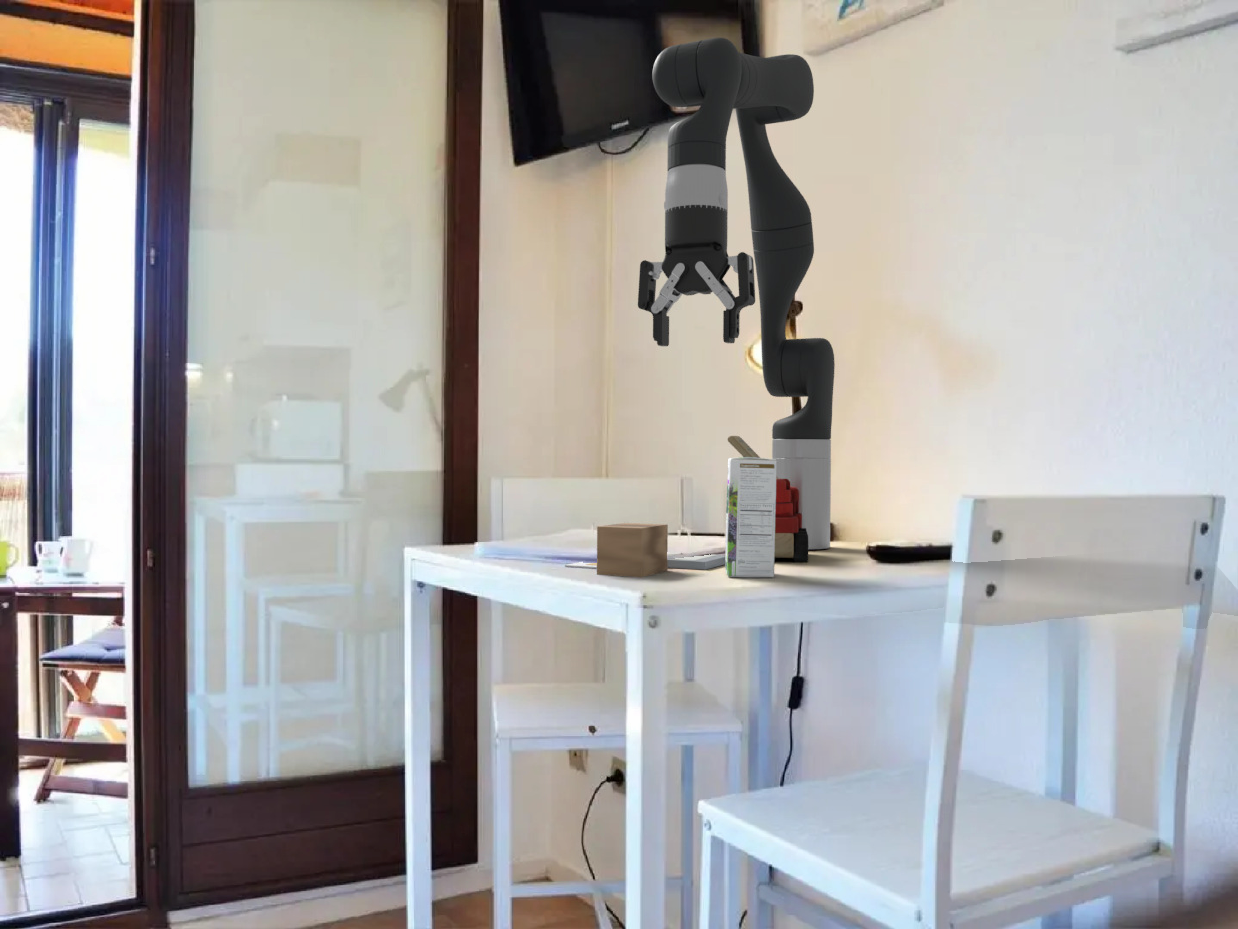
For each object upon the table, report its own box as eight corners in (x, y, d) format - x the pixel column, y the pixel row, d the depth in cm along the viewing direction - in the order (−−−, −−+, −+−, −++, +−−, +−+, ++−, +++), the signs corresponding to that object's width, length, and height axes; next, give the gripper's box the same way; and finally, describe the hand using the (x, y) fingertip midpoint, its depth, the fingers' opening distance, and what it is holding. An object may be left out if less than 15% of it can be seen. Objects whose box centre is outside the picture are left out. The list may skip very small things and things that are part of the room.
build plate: (664, 559, 147) (664, 551, 147) (731, 562, 143) (731, 555, 143) (634, 565, 138) (634, 557, 138) (705, 569, 134) (705, 561, 134)
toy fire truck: (806, 554, 158) (807, 437, 158) (808, 564, 143) (809, 435, 143) (731, 552, 160) (732, 436, 160) (724, 562, 145) (725, 435, 144)
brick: (624, 569, 136) (625, 523, 136) (667, 571, 133) (667, 524, 133) (596, 575, 129) (597, 526, 128) (641, 578, 126) (641, 528, 126)
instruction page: (596, 560, 145) (596, 558, 145) (642, 563, 142) (642, 561, 142) (564, 566, 137) (564, 564, 137) (612, 569, 134) (612, 567, 134)
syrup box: (724, 572, 131) (725, 457, 131) (771, 573, 131) (772, 457, 131) (727, 577, 126) (728, 457, 125) (776, 578, 125) (777, 457, 125)
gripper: (762, 210, 126) (761, 345, 126) (654, 221, 132) (653, 349, 133) (742, 196, 120) (741, 338, 120) (629, 208, 126) (628, 343, 126)
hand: (695, 344), depth 126 cm, fingers open, 8 cm apart
